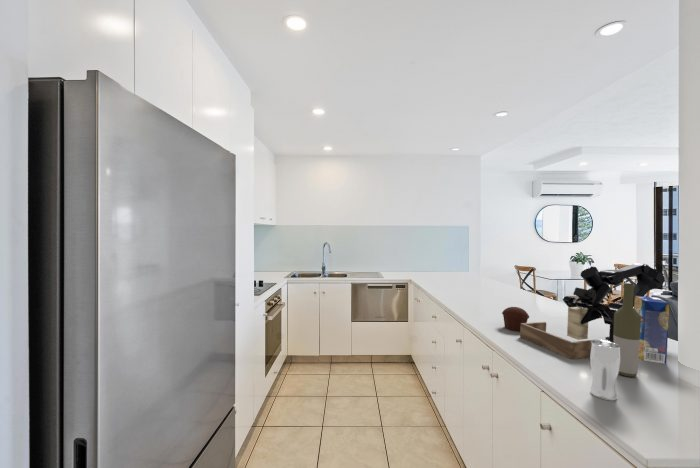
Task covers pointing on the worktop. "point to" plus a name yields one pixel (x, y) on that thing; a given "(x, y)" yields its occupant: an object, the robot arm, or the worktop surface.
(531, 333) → the u-shaped wooden wall
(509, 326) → the muffin
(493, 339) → the worktop surface
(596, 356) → the beer glass
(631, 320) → the bottle
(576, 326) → the ash block
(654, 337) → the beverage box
